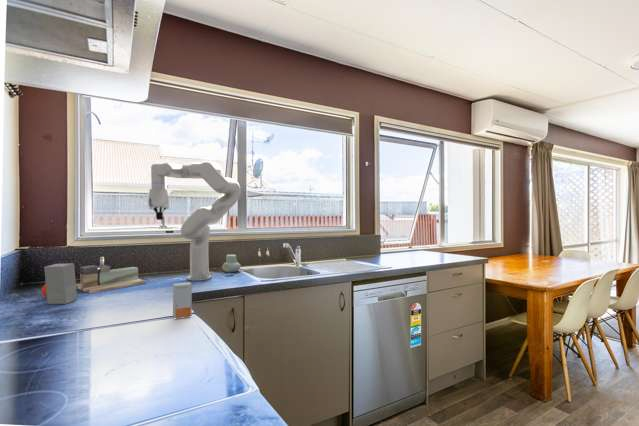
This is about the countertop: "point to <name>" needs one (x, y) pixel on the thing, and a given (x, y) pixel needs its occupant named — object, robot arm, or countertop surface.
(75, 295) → the skincare box
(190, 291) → the skincare box
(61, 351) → the countertop surface
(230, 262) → the air freshener
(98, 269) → the bolt
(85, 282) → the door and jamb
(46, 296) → the clementine
